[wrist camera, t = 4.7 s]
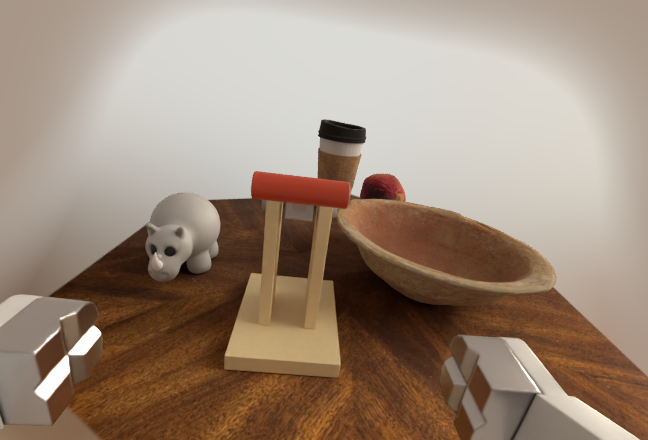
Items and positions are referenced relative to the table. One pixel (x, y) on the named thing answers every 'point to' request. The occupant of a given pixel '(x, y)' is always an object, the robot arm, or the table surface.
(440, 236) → the bowl
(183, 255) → the chubby cartoon animal
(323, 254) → the wooden lever stand
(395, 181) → the fruit
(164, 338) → the table surface
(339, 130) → the coffee cup
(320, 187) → the lever
